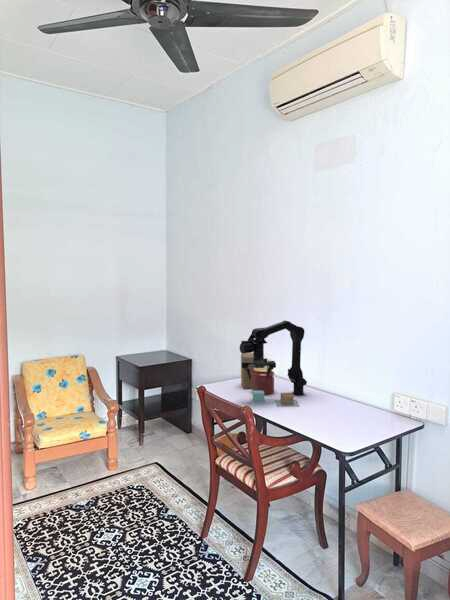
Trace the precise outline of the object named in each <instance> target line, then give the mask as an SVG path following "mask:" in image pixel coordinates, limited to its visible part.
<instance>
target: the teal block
mask: <svg viewBox="0 0 450 600" xmlns="http://www.w3.org/2000/svg"><path fill="white" fill-rule="evenodd" d="M252 401H253V403H265V395H264V391H252Z"/></svg>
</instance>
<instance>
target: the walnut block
mask: <svg viewBox="0 0 450 600" xmlns="http://www.w3.org/2000/svg"><path fill="white" fill-rule="evenodd" d="M292 392H293V391H291V392H280V400H281V403H282V405H293V400H294V395H293V393H292Z"/></svg>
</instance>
